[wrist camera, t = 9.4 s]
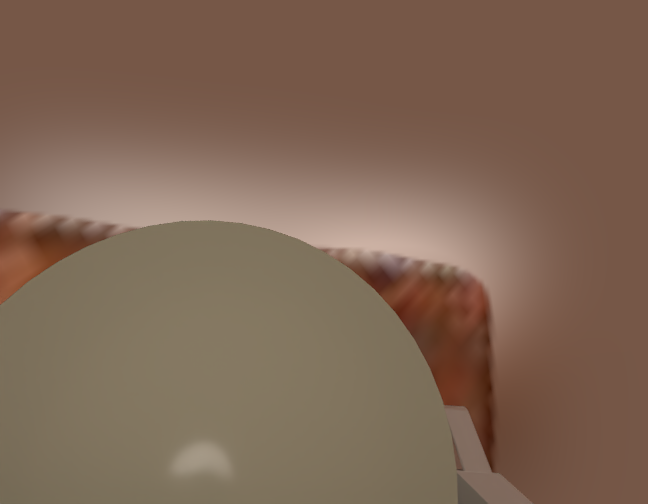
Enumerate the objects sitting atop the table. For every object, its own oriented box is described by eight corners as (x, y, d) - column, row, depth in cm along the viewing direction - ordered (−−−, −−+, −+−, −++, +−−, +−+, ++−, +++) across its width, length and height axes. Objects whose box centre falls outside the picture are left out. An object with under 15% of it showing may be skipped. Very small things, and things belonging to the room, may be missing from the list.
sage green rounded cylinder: (111, 497, 14) (-263, 669, 5) (210, 306, 16) (93, 153, 7) (305, 589, 14) (338, 990, 4) (381, 380, 16) (517, 330, 6)
